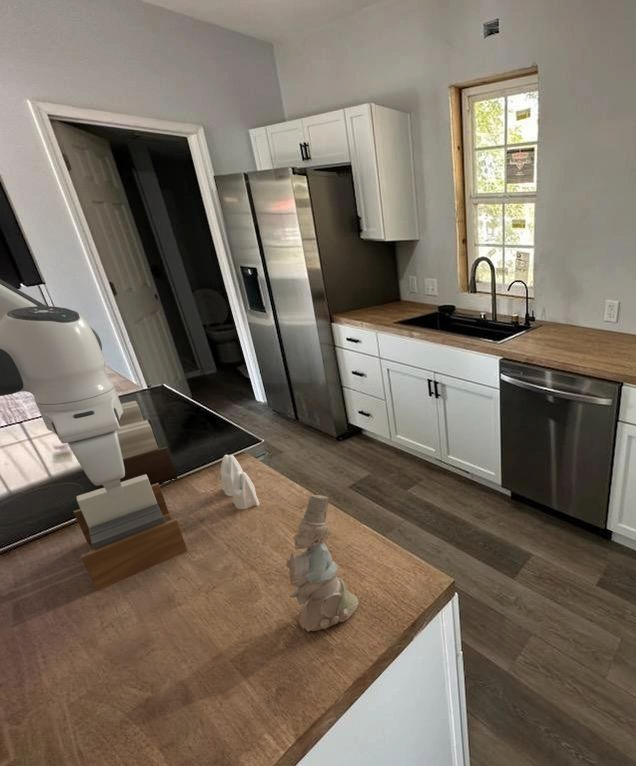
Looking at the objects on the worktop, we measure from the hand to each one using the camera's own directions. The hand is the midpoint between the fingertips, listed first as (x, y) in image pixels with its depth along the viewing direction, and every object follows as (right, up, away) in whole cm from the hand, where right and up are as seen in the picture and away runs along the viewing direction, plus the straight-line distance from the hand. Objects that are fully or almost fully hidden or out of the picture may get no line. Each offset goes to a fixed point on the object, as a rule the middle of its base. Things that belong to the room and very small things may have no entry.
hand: (112, 482), depth 70 cm
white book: (0, -13, +5) cm, 14 cm away
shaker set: (+9, -9, +20) cm, 24 cm away
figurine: (+39, -19, -5) cm, 44 cm away
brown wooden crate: (-23, -4, +29) cm, 37 cm away
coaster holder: (0, -14, +6) cm, 15 cm away
